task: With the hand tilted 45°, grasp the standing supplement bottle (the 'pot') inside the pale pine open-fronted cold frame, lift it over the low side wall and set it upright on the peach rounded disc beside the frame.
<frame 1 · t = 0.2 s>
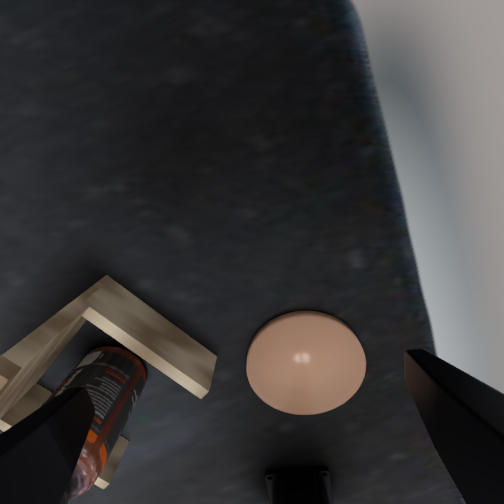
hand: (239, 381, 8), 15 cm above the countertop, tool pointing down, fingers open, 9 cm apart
peach rounded disc: (304, 361, 26), on the countertop
supplement bottle: (117, 368, 27), on the countertop
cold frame: (116, 370, 27), on the countertop
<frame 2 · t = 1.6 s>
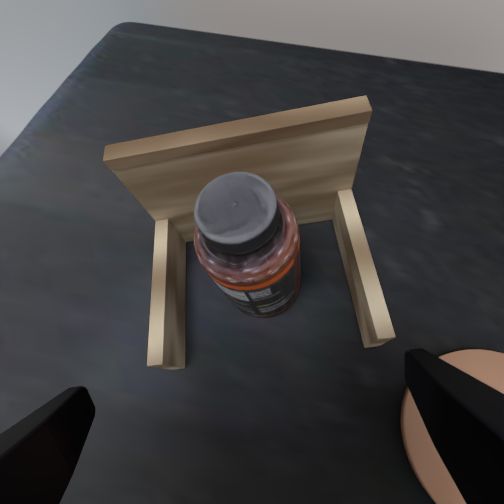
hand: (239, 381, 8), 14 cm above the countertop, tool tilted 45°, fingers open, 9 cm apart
peach rounded disc: (491, 439, 17), on the countertop
supplement bottle: (263, 283, 24), on the countertop
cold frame: (263, 282, 24), on the countertop
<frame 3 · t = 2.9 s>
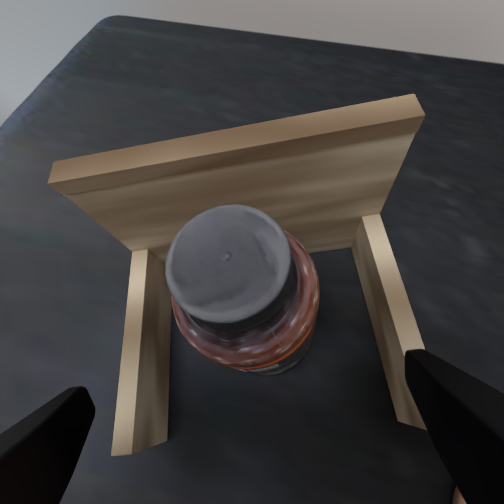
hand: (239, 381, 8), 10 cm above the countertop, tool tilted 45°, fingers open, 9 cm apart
supplement bottle: (267, 328, 19), on the countertop
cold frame: (266, 327, 19), on the countertop
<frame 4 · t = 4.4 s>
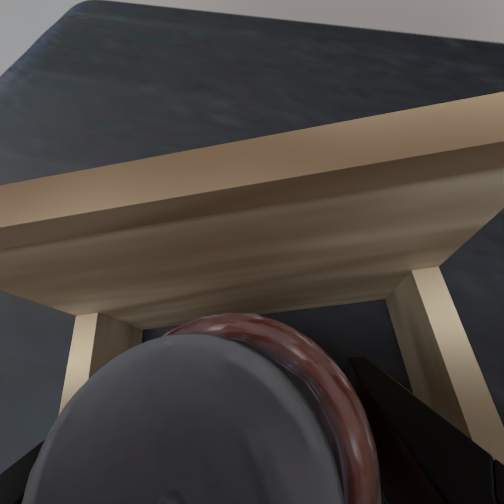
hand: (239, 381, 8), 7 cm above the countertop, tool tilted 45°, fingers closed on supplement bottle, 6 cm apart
supplement bottle: (270, 418, 14), on the countertop, touching gripper
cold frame: (269, 418, 13), on the countertop
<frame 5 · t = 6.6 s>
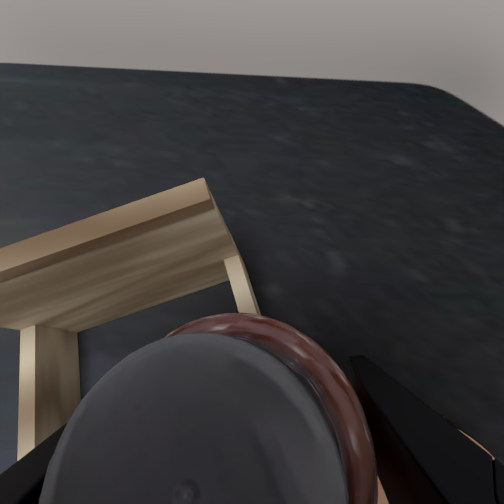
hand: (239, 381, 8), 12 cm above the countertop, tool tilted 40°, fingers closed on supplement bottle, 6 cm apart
supplement bottle: (266, 416, 14), point 6 cm above the countertop, touching gripper
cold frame: (167, 369, 21), on the countertop
when the fingers open (9 cm above the countertop, at t = 8.6 s): supplement bottle stays where it is, resting on peach rounded disc.
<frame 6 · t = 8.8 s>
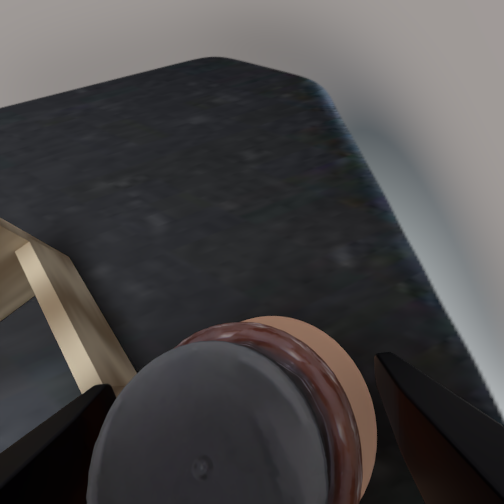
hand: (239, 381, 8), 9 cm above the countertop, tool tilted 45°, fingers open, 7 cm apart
peach rounded disc: (273, 413, 16), on the countertop
supplement bottle: (271, 416, 15), point 1 cm above the countertop, touching peach rounded disc
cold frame: (1, 394, 18), on the countertop
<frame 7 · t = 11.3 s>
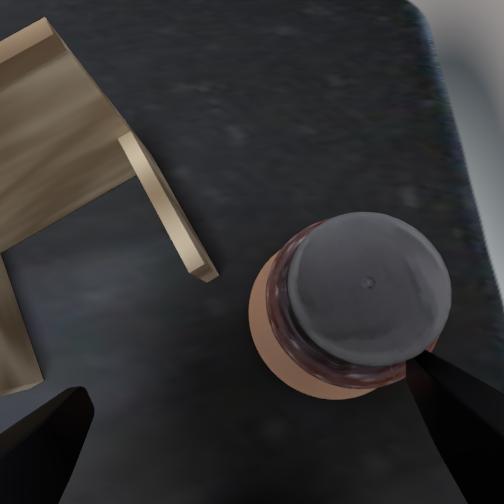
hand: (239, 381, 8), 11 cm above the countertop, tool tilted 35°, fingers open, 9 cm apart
peach rounded disc: (325, 312, 19), on the countertop
supplement bottle: (327, 313, 18), point 1 cm above the countertop, touching gripper, peach rounded disc
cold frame: (95, 261, 22), on the countertop
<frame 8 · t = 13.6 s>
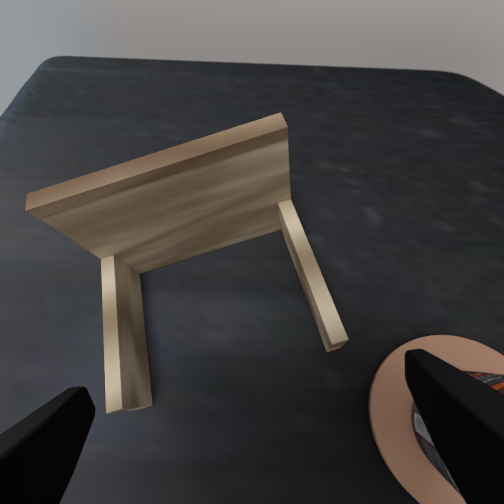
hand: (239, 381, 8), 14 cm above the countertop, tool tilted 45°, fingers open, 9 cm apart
peach rounded disc: (454, 421, 18), on the countertop
supplement bottle: (463, 424, 17), point 1 cm above the countertop, touching peach rounded disc
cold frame: (221, 303, 23), on the countertop
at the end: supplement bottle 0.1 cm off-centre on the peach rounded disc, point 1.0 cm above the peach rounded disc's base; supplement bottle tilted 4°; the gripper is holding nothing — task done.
